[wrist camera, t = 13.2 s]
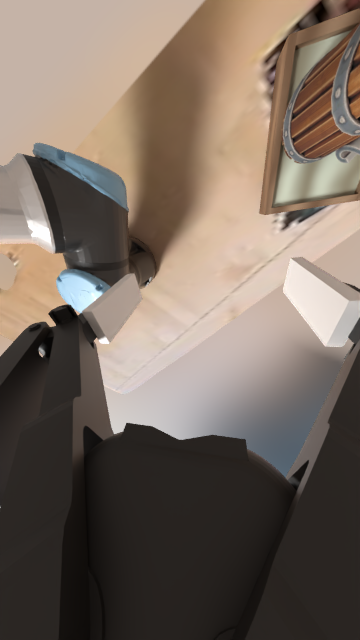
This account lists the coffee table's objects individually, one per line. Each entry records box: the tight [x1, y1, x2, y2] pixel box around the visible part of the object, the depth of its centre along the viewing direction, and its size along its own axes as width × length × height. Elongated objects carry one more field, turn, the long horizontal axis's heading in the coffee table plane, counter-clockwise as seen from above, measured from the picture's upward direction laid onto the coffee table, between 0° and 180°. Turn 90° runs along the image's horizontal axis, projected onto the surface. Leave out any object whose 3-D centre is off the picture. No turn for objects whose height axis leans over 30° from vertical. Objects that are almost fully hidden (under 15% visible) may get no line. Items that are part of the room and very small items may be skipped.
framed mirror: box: [259, 8, 360, 215], centre depth 27 cm, size 16×20×5 cm
